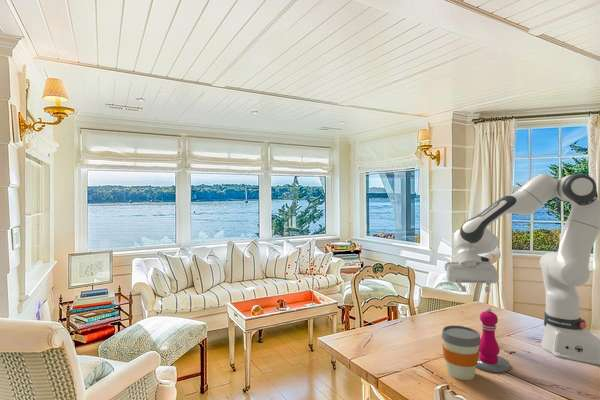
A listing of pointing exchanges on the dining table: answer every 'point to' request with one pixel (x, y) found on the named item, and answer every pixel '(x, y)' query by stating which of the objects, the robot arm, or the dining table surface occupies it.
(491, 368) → the plate
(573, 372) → the dining table surface
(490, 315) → the pepper mill
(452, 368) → the reusable coffee cup
